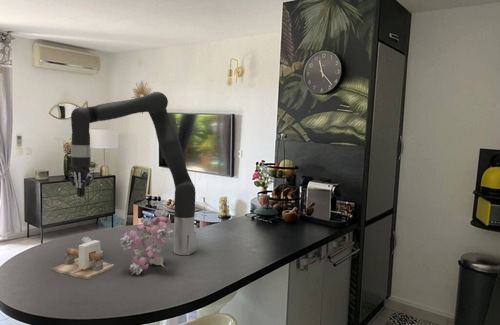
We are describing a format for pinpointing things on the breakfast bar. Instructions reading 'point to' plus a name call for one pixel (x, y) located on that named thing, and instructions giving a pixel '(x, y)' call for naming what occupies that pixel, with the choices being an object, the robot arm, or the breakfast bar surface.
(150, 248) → the flower
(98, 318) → the breakfast bar surface
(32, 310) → the breakfast bar surface
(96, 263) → the pipe rig
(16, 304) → the breakfast bar surface
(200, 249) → the breakfast bar surface
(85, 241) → the light grey long piece
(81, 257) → the collar
